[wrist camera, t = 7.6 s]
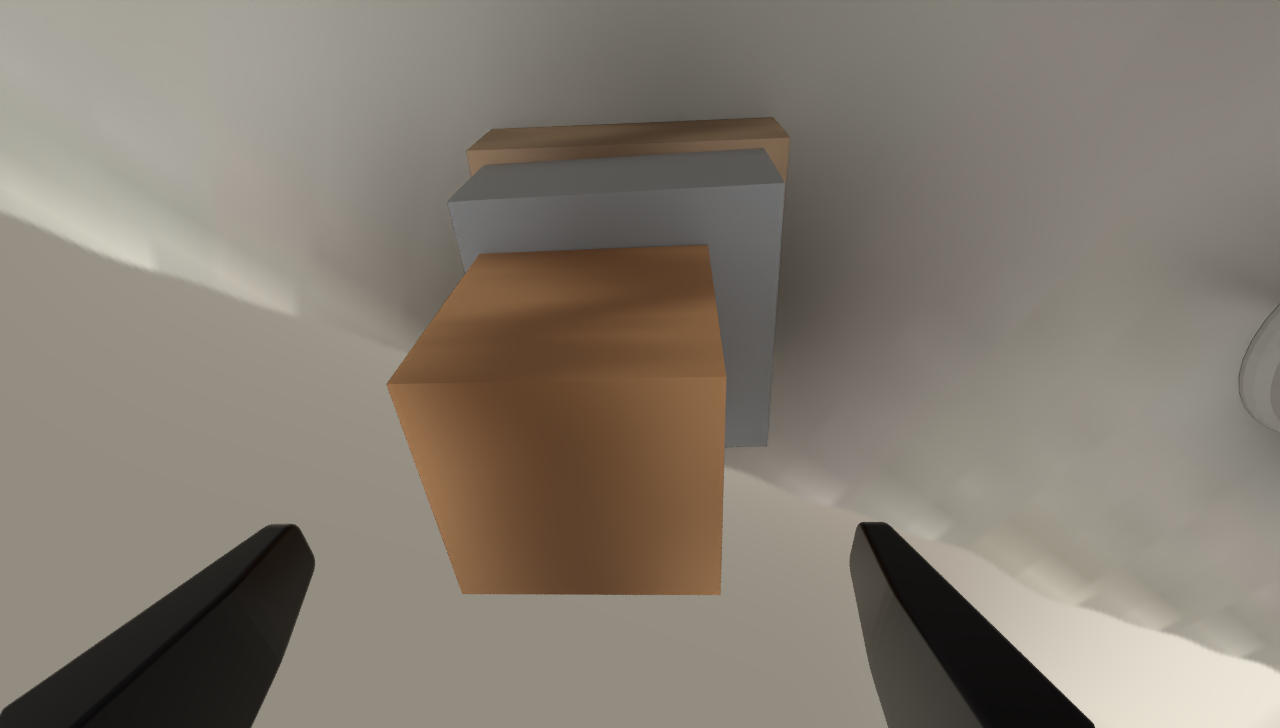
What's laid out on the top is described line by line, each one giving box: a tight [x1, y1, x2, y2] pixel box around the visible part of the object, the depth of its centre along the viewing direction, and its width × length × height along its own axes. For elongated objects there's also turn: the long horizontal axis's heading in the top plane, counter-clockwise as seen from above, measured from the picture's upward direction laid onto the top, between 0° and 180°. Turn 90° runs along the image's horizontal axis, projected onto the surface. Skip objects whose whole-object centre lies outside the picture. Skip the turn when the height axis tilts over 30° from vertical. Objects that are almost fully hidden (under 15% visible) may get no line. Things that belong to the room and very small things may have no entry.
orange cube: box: [387, 245, 726, 595], centre depth 12 cm, size 5×5×5 cm
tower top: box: [447, 148, 785, 447], centre depth 15 cm, size 7×7×3 cm
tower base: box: [466, 117, 790, 223], centre depth 18 cm, size 8×8×3 cm
